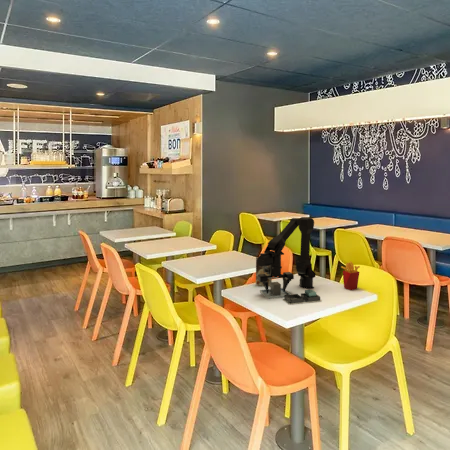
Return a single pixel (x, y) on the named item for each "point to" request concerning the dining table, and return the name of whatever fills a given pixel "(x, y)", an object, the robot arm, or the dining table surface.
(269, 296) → the tray
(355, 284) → the french fries
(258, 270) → the coffee box
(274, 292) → the block
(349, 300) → the dining table surface
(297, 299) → the double socket holder
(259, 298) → the dining table surface
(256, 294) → the dining table surface
